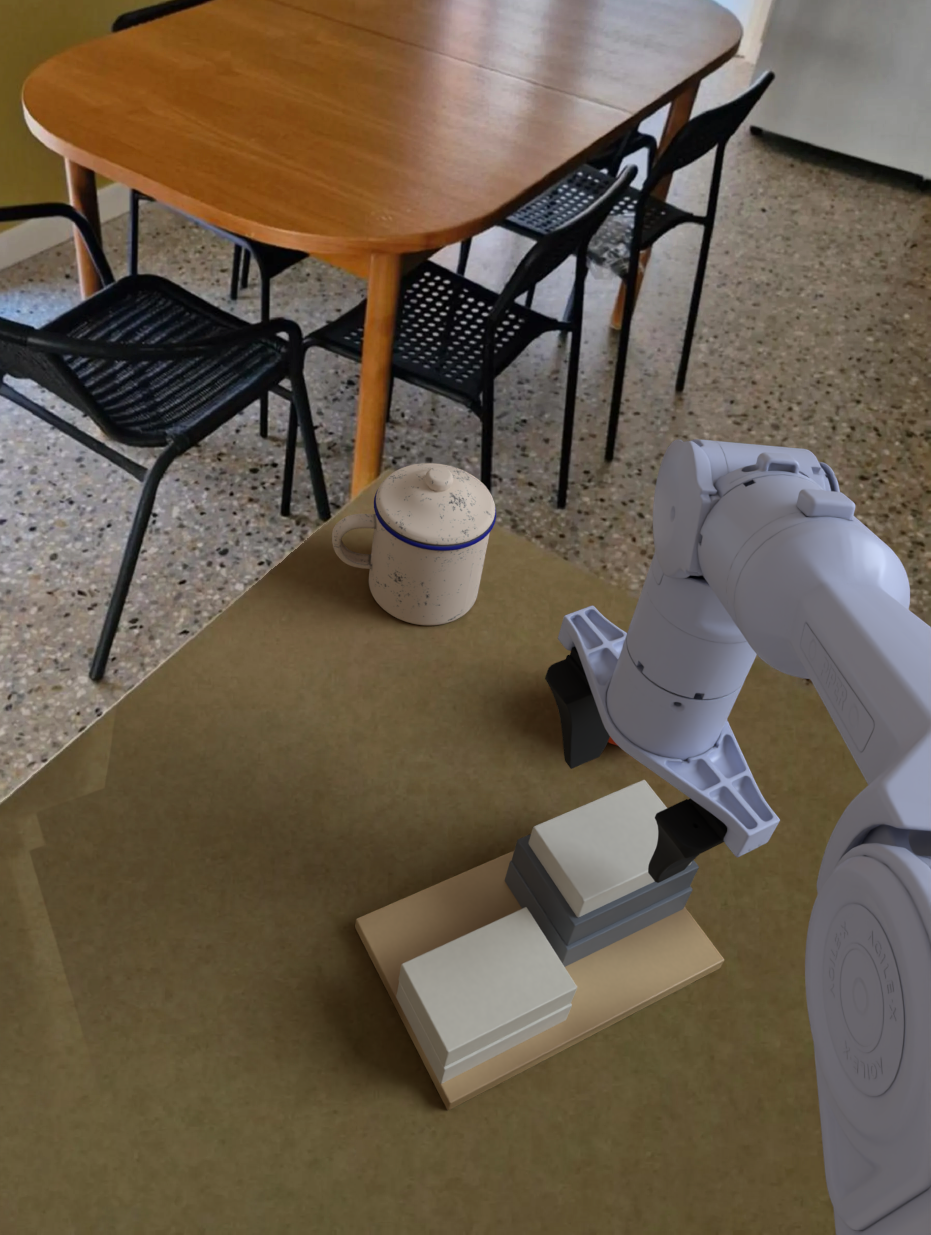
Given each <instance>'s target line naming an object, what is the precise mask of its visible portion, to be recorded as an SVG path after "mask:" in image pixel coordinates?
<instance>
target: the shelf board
mask: <svg viewBox="0 0 931 1235" xmlns="http://www.w3.org/2000/svg"><path fill="white" fill-rule="evenodd" d="M513 854H514V850H512V851H509V852H508V853H505V854H503V855H501V856H498V857H496V858H493V859H491V860H488V861H486V862H484V863H482V864H480V865H478V866H475V867H473V868H470V869H468V870H466V871H464V872H461V873H459V874H457V875H455V876H452V877H450V878H447V879H445V880H442V881H441V882H437V883H436V884H433V885H432V886H429V887H427V888H424V889H422V890H420V891H417V892H415V893H413V894H411V895H408V896H405V897H403V898H401V899H399V900H397V901H394V902H392V903H390V904H387V905H384V906H383V907H380V908H378V909H376V910H373V911H371V912H368V913H367V914H364V915H362V916H360V917H357V918H356V919H355V925H354V928H355V930H356V933H357V934H358V936H359V938H360V940H361V943H362V944H363V946H364V948H365V950H366V953H367V954H368V956H369V959H370V960H371V962H372V964H373V966H374V968H375V970H376V972H377V974H378V976H379V978H380V980H381V982H382V984H383V985H384V988H385V990H386V992H387V994H388V996H389V997H390V999H391V1001H392V1003H393V1006H394V1007H395V1009H396V1011H397V1013H398V1016H399V1018H400V1020H401V1021H402V1024H403V1026H404V1027H405V1030H406V1032H407V1033H408V1036H409V1037H410V1040H411V1041H412V1043H413V1045H414V1047H415V1049H416V1051H417V1053H418V1055H419V1057H420V1059H421V1061H422V1063H423V1065H424V1067H425V1069H426V1071H427V1072H428V1075H429V1077H430V1079H431V1081H432V1082H433V1084H434V1087H435V1089H436V1090H437V1091H436V1092H438V1095H439V1097H440V1099H441V1100H442V1102H443V1105H444V1106H445V1108H446V1110H447V1111H451V1110H452V1109H454V1108H456V1107H458V1106H460V1105H463V1104H464V1103H466V1102H468V1101H469V1100H472V1099H474V1098H475V1097H477V1096H479V1095H481V1094H482V1093H485V1092H487V1091H489V1090H490V1089H492V1088H494V1087H496V1086H498V1085H500V1084H503V1083H504V1082H506V1081H508V1080H509V1079H511V1078H513V1077H515V1076H518V1075H519V1074H521V1073H524V1072H525V1071H526V1070H529V1069H531V1068H533V1067H534V1066H536V1065H538V1064H540V1063H542V1062H544V1061H546V1060H547V1059H550V1058H552V1057H554V1056H556V1055H557V1054H559V1053H561V1052H563V1051H565V1050H567V1049H569V1048H570V1047H572V1046H574V1045H576V1044H578V1043H580V1042H582V1041H584V1040H587V1039H588V1038H590V1037H591V1036H593V1035H595V1034H597V1033H599V1032H601V1031H603V1030H605V1029H607V1028H609V1027H611V1026H613V1025H614V1024H616V1023H618V1022H620V1021H622V1020H624V1019H627V1018H628V1017H630V1016H632V1015H634V1014H636V1013H638V1012H639V1011H642V1010H643V1009H645V1008H647V1007H649V1006H651V1005H653V1004H655V1003H656V1002H659V1001H661V1000H662V999H664V998H666V997H669V996H671V995H672V994H673V993H676V992H678V991H680V990H681V989H683V988H685V987H687V986H689V985H691V984H692V983H694V982H695V983H696V981H698V980H700V979H702V978H704V977H706V976H708V975H710V974H712V973H713V972H715V971H718V970H719V969H721V968H722V966H723V964H724V962H725V958H724V957H723V956H722V954H721V953H720V952H719V950H718V949H717V948H716V946H715V945H714V943H713V942H712V941H711V939H710V938H709V937H708V936H707V934H706V933H705V932H704V930H703V928H702V927H701V926H700V925H699V923H698V922H697V921H696V920H695V918H694V917H693V916H692V914H691V913H690V911H689V910H688V908H686V906H685V907H684V909H682V910H680V911H678V912H676V913H674V914H672V915H670V916H668V917H666V918H664V919H662V920H660V921H658V922H656V923H654V924H652V925H649V926H647V927H645V928H643V929H641V930H639V931H637V932H635V933H633V934H631V935H629V936H627V937H625V938H623V939H621V940H619V941H617V942H615V943H613V944H611V945H609V946H607V947H605V948H603V949H600V950H598V951H596V952H594V953H592V954H590V955H588V956H586V957H584V958H582V959H580V960H578V961H576V962H574V963H572V964H570V965H568V966H566V967H565V969H566V970H567V972H568V973H569V975H570V976H571V978H572V980H573V981H574V983H575V984H576V986H577V990H576V992H575V994H574V997H573V999H572V1002H571V1004H572V1006H571V1009H570V1011H569V1014H568V1016H567V1019H566V1020H565V1021H563V1022H561V1023H559V1024H557V1025H555V1026H553V1027H551V1028H549V1029H548V1030H546V1031H544V1032H542V1033H540V1034H538V1035H536V1036H534V1037H532V1038H530V1039H528V1040H526V1041H524V1042H522V1043H520V1044H518V1045H516V1046H514V1047H512V1048H510V1049H508V1050H506V1051H505V1052H503V1053H501V1054H499V1055H497V1056H495V1057H493V1058H491V1059H489V1060H487V1061H485V1062H483V1063H481V1064H479V1065H477V1066H475V1067H473V1068H471V1069H469V1070H467V1071H465V1072H464V1073H462V1074H460V1075H458V1076H456V1077H454V1078H452V1079H450V1080H448V1081H446V1082H444V1083H442V1084H440V1082H439V1080H438V1078H437V1076H436V1074H435V1073H434V1071H433V1069H432V1067H431V1065H430V1063H429V1061H428V1059H427V1057H426V1055H425V1053H424V1051H423V1049H422V1047H421V1045H420V1043H419V1041H418V1039H417V1037H416V1035H415V1033H414V1031H413V1029H412V1027H411V1025H410V1023H409V1021H408V1020H407V1018H406V1016H405V1014H404V1012H403V1010H402V1008H401V1006H400V1004H399V1002H398V1000H397V998H396V995H397V990H398V985H399V975H400V970H401V965H402V964H403V963H405V962H407V961H409V960H411V959H413V958H416V957H418V956H420V955H422V954H424V953H427V952H429V951H431V950H433V949H435V948H437V947H440V946H442V945H444V944H446V943H448V942H451V941H453V940H455V939H457V938H459V937H462V936H464V935H466V934H468V933H470V932H472V931H475V930H477V929H479V928H481V927H483V926H486V925H488V924H490V923H492V922H494V921H496V920H499V919H501V918H503V917H505V916H507V915H510V914H512V913H514V912H516V911H518V910H521V909H522V908H521V906H520V904H519V903H518V901H517V900H516V898H515V897H514V895H513V893H512V892H511V890H510V889H509V887H508V885H507V884H506V882H505V877H506V873H507V870H508V866H509V863H510V861H511V860H512V857H513Z"/></svg>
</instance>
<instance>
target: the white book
mask: <svg viewBox="0 0 931 1235" xmlns="http://www.w3.org/2000/svg"><path fill="white" fill-rule="evenodd" d="M667 808H668V807H667V806H666V805H665V803H664V802H663V801H662V800H661V798H660V797H659V796H658V795H657V793H656V792H655V791H654V789H653V788H652V787H651V786H650V785H649V783H648V782H647V781H646V780H645V779H642V780H640V781H637V782H634V783H632V784H630V785H627V786H626V787H623V788H621V789H619V790H615V791H614V792H612V793H611V792H610V793H609V794H607V795H604V796H602V797H600V798H598V799H595V800H593V801H590V802H588V803H585V804H583V805H581V806H579V807H576V808H573V809H571V810H569V811H568V812H565V813H562V814H560V815H557V816H555V817H553V818H550V819H548V820H546V821H543V822H541V823H538V824H536V825H533V827H532V830H531V833H530V834H531V836H530V840H529V846H530V847H531V849H532V850H533V852H534V853H535V855H536V856H537V858H538V859H539V861H540V862H541V864H542V865H543V867H544V868H545V870H546V871H547V873H548V874H549V876H550V877H551V879H552V880H553V882H554V883H555V885H556V886H557V888H558V889H559V891H560V892H561V894H562V895H563V897H564V898H565V900H566V901H567V903H568V904H569V906H570V907H571V909H572V910H573V912H574V913H575V915H576V916H577V917H581V916H583V915H585V914H587V913H589V912H591V911H593V910H595V909H598V908H600V907H602V906H604V905H606V904H608V903H610V902H612V901H615V900H617V899H619V898H621V897H623V896H625V895H627V894H629V893H631V892H634V891H636V890H638V889H640V888H642V887H644V886H646V885H648V884H651V883H653V882H655V881H654V880H653V878H652V877H651V876H650V874H649V873H648V866H649V863H650V860H651V858H652V856H653V854H654V851H655V849H656V846H657V841H658V825H657V822H656V820H655V816H656V814H657V813H658V812H660V811H662V810H665V809H667ZM690 864H691V863H690ZM690 864H689V865H690ZM689 865H688V866H689Z"/></svg>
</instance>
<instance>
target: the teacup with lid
mask: <svg viewBox="0 0 931 1235" xmlns="http://www.w3.org/2000/svg"><path fill="white" fill-rule="evenodd" d="M373 511H374V513H353V514H349V515H347V516H345V517H343V518H341V519H340V520H339V521H337V522H336V524H335V525H334V527H333V528H332V532H331V544H332V548H333V551H334V553H335V554H336V556H337V557H338V558H339V559H340V561H342V562H343V563H344V564H346V565H347V566H350V567H353V568H357V569H364V570H365V569H366V570H369V572H368V573H369V574H368V587H369V590H370V593H371V595H372V597H373V599H374V600H375V602H376V603H377V604H378V605H379V607H381V609H383V610H384V611H385V612H386V613H388V614H389V615H391V616H392V617H395V618H396V619H398V620H401V621H403V622H406V623H410V624H413V625H420V626H439V625H440V626H441V625H444V624H448V623H451V622H454V621H456V620H458V619H460V618H462V617H464V616H465V615H466V614H467V613H468V612H469V611H470V610H471V609H472V608H473V606H474V604H475V603H476V600H477V598H478V595H479V590H480V584H481V579H482V574H483V568H484V565H485V559H486V554H487V549H488V545H489V544H488V543H489V539H490V534H491V531H492V530H493V528H494V526H495V523H496V520H497V509H496V504H495V501H494V498H493V496H492V494H491V491H490V490H489V489H488V487H487V486H486V485H485V484H484V483H483V482H482V481H481V480H479V479H478V478H477V477H475V476H474V475H472V474H471V473H469V472H468V471H465V470H463V469H461V468H458V467H455V466H453V465H448V464H443V463H433V462H424V463H422V462H421V463H415V464H410V465H407V466H404V467H400V468H399V469H396V470H395V471H393V472H391V473H390V474H389V475H388V476H386V477H385V478H384V479H383V480H382V482H381V483H380V484H379V486H378V488H377V489H376V492H375V494H374V498H373ZM358 529H370V530H371V529H373V535H372V544H371V554H367V553H359V552H355V551H353V550H351V549H349V548H348V547H347V546H346V545H345V544H344V542H343V541H342V538H343V537H344V535H345V534H347V533H349V532H350V531H352V530H358Z"/></svg>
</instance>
